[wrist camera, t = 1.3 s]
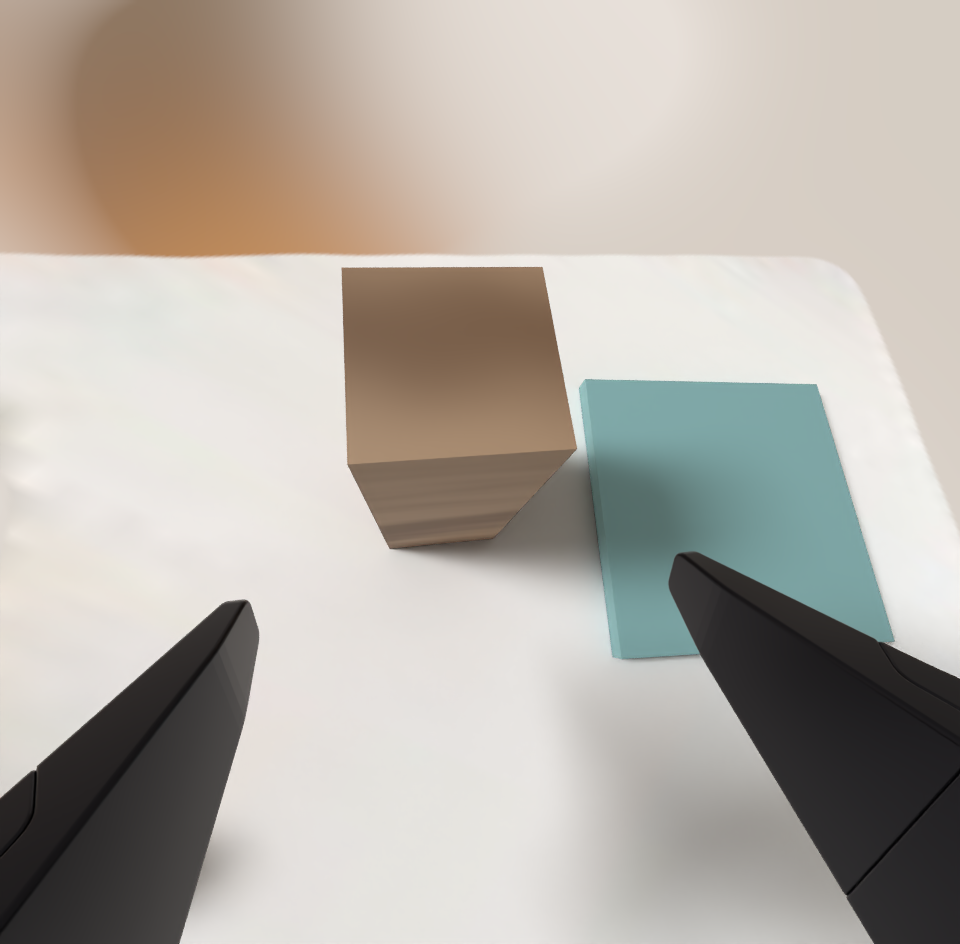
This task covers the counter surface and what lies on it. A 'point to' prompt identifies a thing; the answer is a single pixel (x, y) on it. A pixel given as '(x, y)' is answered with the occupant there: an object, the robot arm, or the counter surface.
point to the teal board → (720, 502)
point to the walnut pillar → (451, 398)
